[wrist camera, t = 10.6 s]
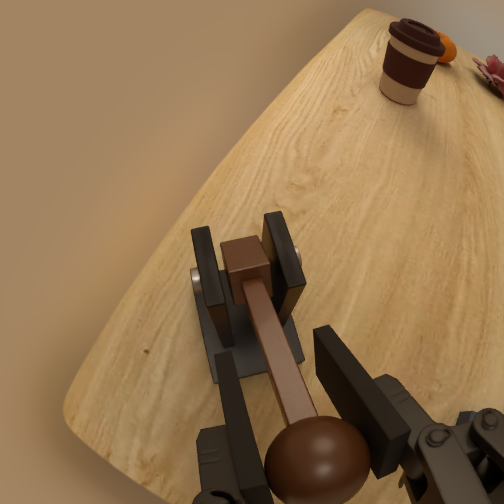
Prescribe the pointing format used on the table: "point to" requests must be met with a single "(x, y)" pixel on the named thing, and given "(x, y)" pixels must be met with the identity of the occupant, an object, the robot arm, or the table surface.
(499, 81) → the flower
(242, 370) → the bracket
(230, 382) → the robot arm
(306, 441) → the lever
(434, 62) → the coffee cup
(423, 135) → the table surface
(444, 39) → the fruit
